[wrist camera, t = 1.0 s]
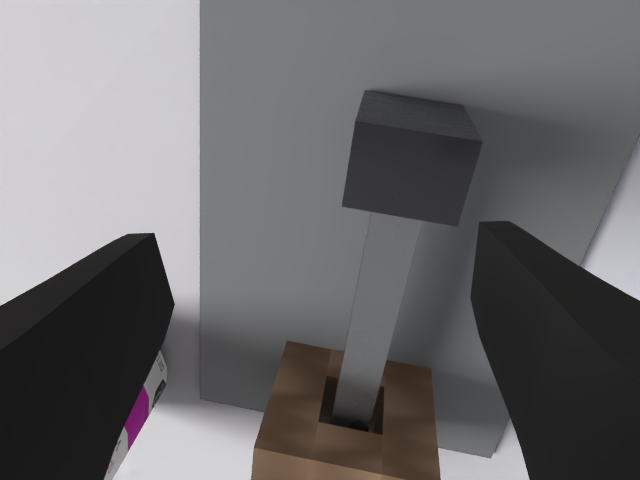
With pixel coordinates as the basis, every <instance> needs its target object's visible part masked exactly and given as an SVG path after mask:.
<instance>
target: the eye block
mask: <svg viewBox="0 0 640 480" xmlns="http://www.w3.org/2000/svg"><path fill="white" fill-rule="evenodd" d="M342 357H343V351H338V350H333V349H328V348H322V347H317V346H312V345H307V344H302V343H297V342H291V341H287V342H286V346H285V349H284V352H283V355H282V358H281V362H280V365H279V368H278V371H277V375H276V378H275V381H274V384H273V388H272V391H271V394H270V397H269V401H268V404H267V407H266V410H265V413H264V417H263V420H262V423H261V426H260V430H259V433H258V436H257V439H256V443H255V446H254V452H253V464H252V476H251V480H441V479H440V468H439V456H438V445H437V433H436V422H435V410H434V398H433V387H432V375H431V368H426V367H421V366H415V365H410V364H405V363H400V362H395V361H390V360H386V363H385V367H384V371H383V375H382V379H381V383H380V387H379V391H378V394H377V398H376V402H375V406H374V410H373V414H372V418H371V422H370V426H369V430H368V432H365V431H360V430H355V429H350V428H345V427H341V426H336V425H331V424H330V419H331V414H332V408H333V403H334V398H335V393H336V388H337V383H338V378H339V372H340V367H341V362H342Z"/></svg>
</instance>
